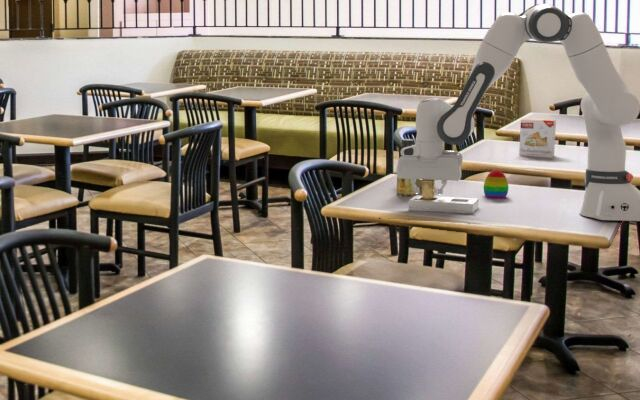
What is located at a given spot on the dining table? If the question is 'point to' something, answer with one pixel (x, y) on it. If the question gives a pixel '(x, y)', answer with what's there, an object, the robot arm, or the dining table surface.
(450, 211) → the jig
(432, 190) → the brass cylinder
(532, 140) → the cracker box
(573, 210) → the dining table surface
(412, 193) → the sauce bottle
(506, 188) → the decorative egg
